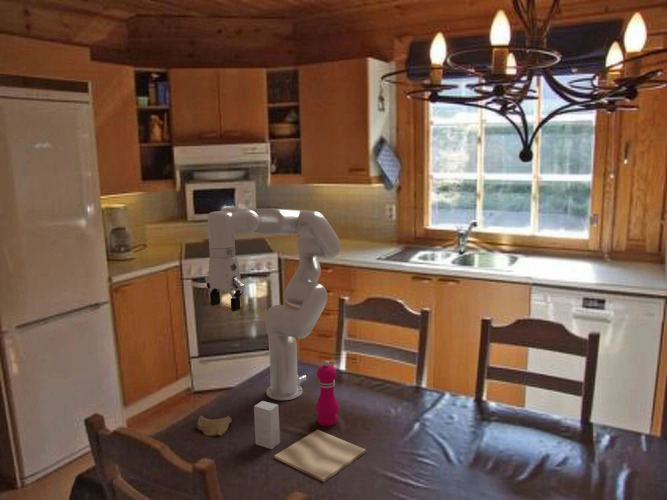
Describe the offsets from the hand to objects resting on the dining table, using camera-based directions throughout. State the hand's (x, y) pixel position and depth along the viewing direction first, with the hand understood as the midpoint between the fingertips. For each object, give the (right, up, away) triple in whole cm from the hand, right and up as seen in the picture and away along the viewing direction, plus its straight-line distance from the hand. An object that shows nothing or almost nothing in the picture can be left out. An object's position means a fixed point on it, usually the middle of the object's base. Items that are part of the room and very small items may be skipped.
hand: (225, 307), depth 167 cm
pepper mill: (+31, -36, +4) cm, 48 cm away
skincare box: (+14, -39, -8) cm, 42 cm away
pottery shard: (-4, -38, +1) cm, 38 cm away
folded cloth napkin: (+29, -40, -15) cm, 51 cm away
